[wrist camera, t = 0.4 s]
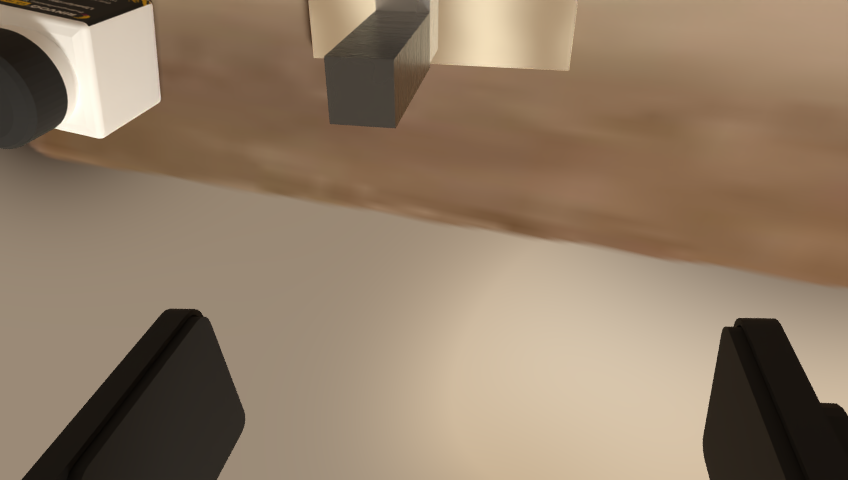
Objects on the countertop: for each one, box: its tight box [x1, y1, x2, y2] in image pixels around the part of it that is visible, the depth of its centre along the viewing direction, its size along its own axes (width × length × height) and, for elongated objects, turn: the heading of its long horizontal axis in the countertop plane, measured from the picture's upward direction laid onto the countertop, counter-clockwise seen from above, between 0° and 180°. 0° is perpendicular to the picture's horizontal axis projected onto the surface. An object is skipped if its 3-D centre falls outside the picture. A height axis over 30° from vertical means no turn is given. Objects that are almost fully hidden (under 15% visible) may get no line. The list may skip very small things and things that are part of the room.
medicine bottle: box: [0, 0, 161, 149], centre depth 37 cm, size 7×7×12 cm
